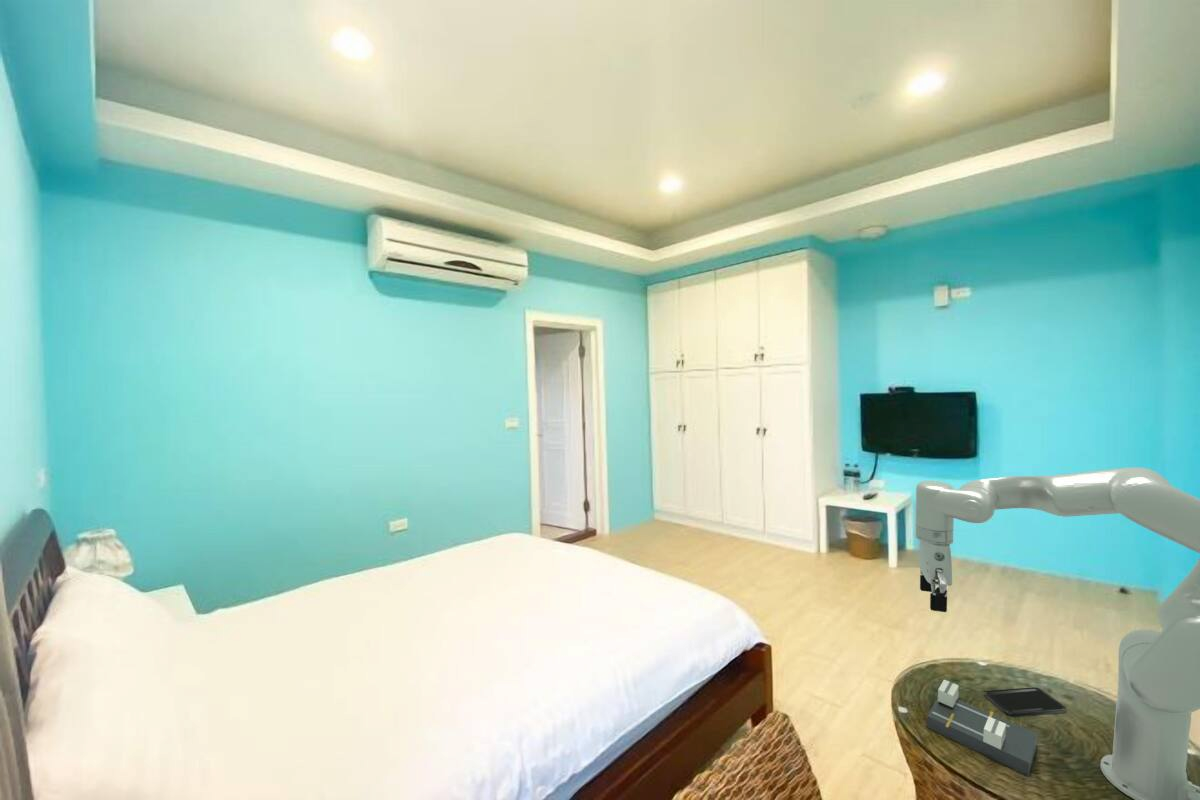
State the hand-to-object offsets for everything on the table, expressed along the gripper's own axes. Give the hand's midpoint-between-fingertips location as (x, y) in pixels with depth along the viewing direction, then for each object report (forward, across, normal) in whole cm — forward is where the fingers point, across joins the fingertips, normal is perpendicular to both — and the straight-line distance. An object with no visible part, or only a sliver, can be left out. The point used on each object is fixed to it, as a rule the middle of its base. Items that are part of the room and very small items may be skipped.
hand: (932, 600), depth 119 cm
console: (+27, -9, -8) cm, 29 cm away
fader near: (+23, -13, -9) cm, 28 cm away
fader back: (+23, -3, -3) cm, 24 cm away
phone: (+27, +7, -21) cm, 35 cm away
